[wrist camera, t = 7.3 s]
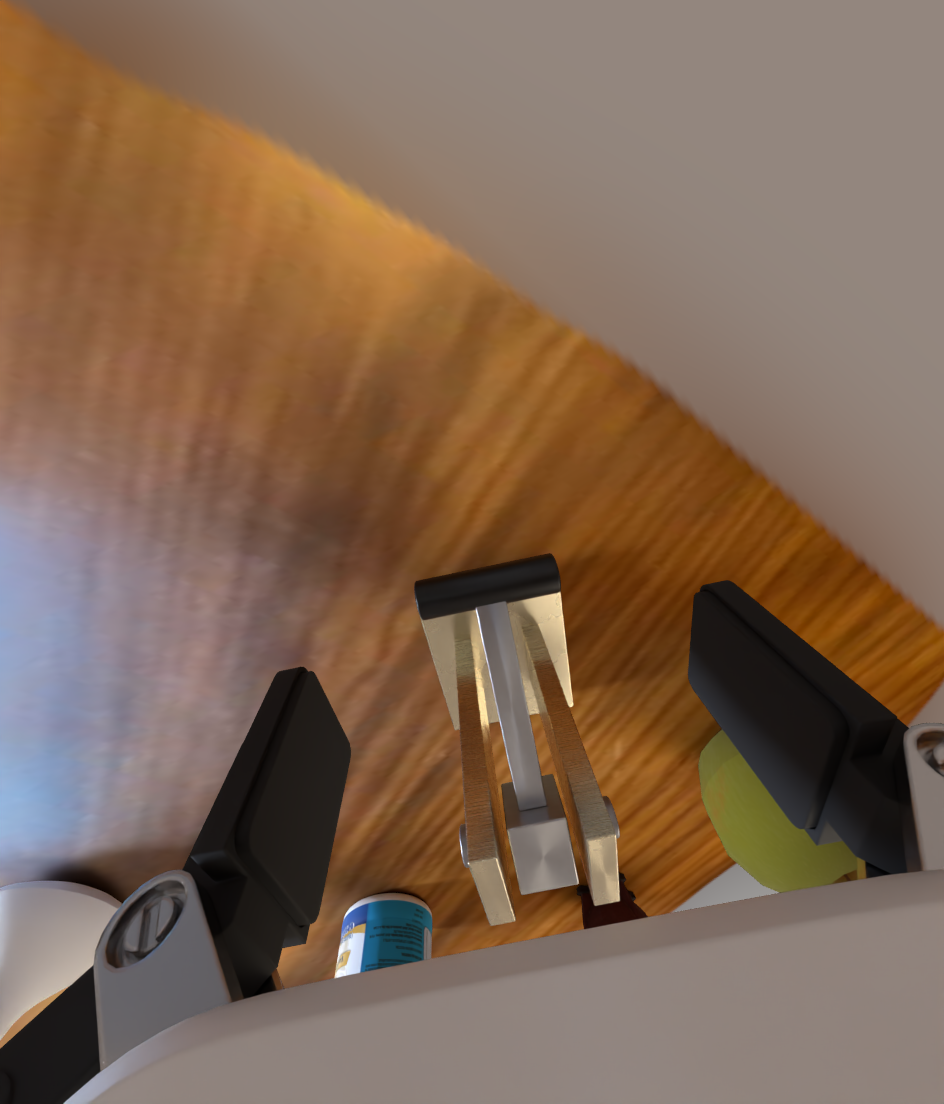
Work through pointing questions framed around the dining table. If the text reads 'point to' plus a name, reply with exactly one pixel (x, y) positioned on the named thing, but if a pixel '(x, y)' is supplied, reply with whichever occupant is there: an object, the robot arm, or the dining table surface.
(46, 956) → the flower in vase
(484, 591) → the lever
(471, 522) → the dining table surface
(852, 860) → the apple
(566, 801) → the bracket
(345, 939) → the beverage bottle
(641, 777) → the dining table surface
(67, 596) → the dining table surface
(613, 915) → the mate gourd
